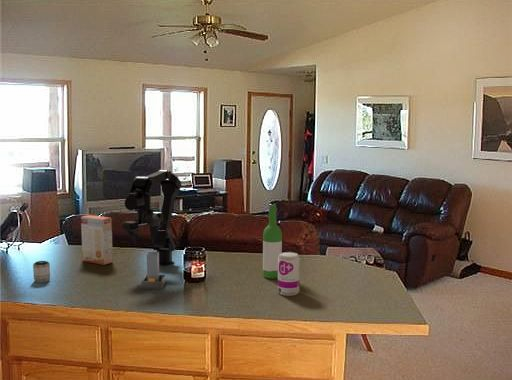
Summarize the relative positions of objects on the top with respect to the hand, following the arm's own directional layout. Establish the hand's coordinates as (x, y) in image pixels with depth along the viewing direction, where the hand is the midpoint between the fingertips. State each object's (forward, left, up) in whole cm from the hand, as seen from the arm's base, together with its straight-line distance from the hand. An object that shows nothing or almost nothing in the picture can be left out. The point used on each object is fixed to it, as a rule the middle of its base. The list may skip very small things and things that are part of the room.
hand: (144, 243), depth 241 cm
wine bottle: (-31, +44, -13) cm, 55 cm away
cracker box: (+2, -31, -13) cm, 34 cm away
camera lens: (+34, -23, -13) cm, 43 cm away
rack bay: (+9, +16, -13) cm, 22 cm away
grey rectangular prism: (+9, +16, -13) cm, 22 cm away
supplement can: (-18, +62, -13) cm, 66 cm away
